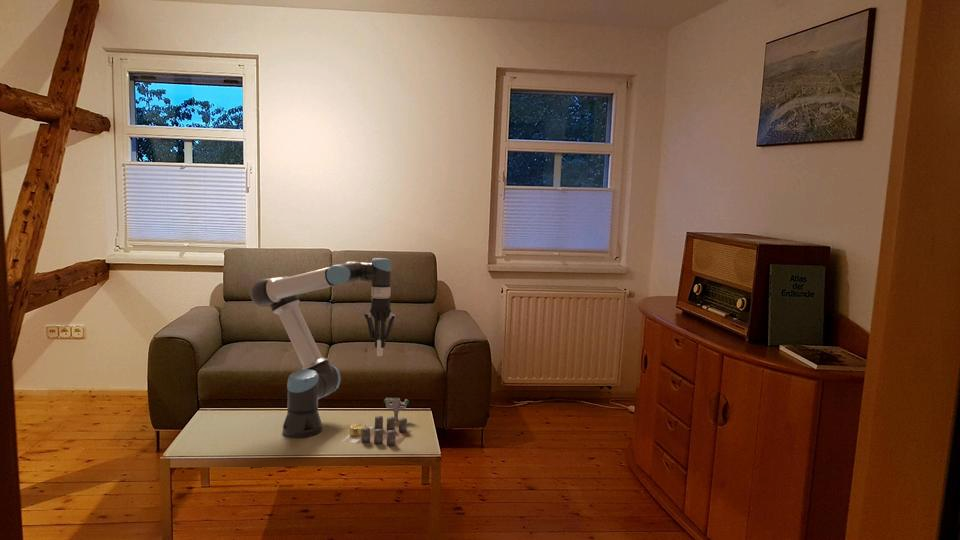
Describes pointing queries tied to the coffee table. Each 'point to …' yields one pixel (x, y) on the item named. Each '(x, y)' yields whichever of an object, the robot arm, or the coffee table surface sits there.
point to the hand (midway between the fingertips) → (379, 355)
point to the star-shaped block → (356, 430)
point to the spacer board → (382, 433)
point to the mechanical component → (395, 405)
